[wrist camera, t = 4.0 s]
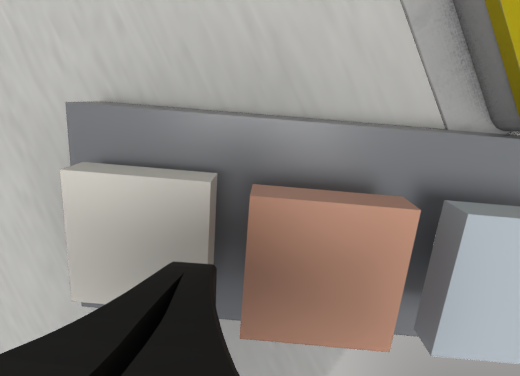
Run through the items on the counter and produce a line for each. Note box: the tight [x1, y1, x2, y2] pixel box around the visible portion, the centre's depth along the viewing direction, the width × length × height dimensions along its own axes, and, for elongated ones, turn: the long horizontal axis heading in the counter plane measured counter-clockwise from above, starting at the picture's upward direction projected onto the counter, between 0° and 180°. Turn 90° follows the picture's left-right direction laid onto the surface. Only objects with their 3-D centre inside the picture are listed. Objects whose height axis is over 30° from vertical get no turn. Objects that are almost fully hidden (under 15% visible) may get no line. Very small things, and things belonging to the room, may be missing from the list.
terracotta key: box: [240, 184, 421, 352], centre depth 13 cm, size 6×6×4 cm
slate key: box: [414, 200, 520, 364], centre depth 13 cm, size 6×6×4 cm
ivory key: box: [60, 162, 217, 304], centre depth 15 cm, size 6×6×4 cm
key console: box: [66, 102, 520, 337], centre depth 16 cm, size 10×22×3 cm, turn 86°
